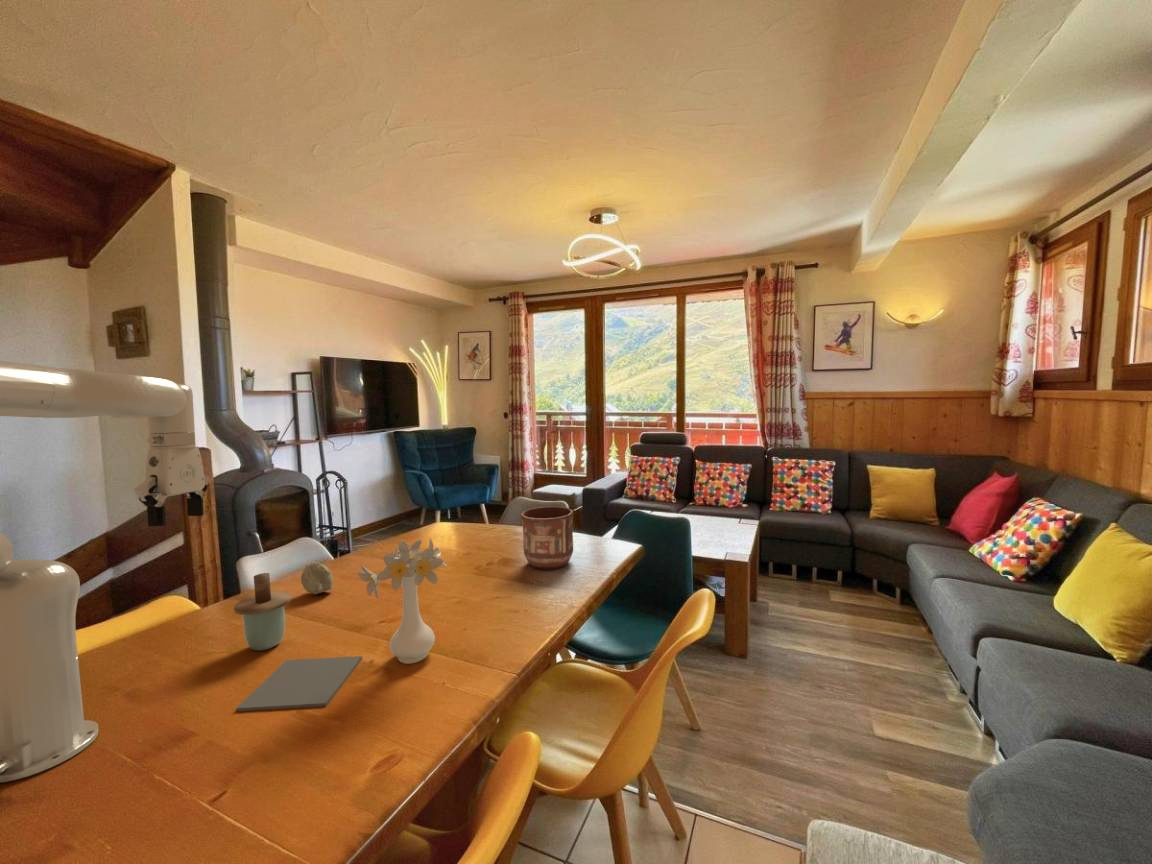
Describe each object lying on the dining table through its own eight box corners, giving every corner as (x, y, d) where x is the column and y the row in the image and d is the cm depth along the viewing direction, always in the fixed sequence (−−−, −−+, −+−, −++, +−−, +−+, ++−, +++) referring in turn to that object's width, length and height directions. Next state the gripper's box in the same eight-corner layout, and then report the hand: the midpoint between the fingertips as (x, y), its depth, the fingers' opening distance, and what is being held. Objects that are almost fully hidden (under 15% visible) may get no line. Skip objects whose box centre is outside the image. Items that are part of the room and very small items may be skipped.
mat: (326, 706, 85) (326, 702, 85) (236, 711, 85) (235, 708, 85) (362, 658, 101) (361, 656, 101) (286, 662, 101) (286, 660, 100)
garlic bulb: (332, 597, 135) (330, 563, 134) (298, 603, 132) (296, 568, 131) (336, 586, 144) (334, 554, 143) (304, 591, 141) (302, 558, 140)
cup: (266, 656, 103) (263, 612, 103) (237, 653, 105) (233, 610, 104) (294, 639, 111) (291, 598, 111) (266, 636, 113) (263, 596, 112)
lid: (274, 613, 102) (271, 583, 102) (222, 616, 102) (219, 585, 101) (300, 593, 113) (299, 565, 113) (254, 595, 113) (252, 568, 112)
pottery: (518, 559, 164) (516, 508, 163) (566, 553, 169) (564, 504, 168) (528, 577, 147) (526, 521, 146) (581, 569, 152) (579, 515, 151)
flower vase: (354, 672, 96) (347, 553, 95) (424, 633, 112) (419, 530, 111) (396, 690, 90) (389, 562, 88) (464, 646, 105) (459, 537, 104)
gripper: (153, 443, 91) (159, 529, 92) (220, 439, 109) (224, 511, 109) (115, 444, 91) (121, 530, 92) (188, 439, 109) (192, 512, 109)
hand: (177, 520), depth 101 cm, fingers open, 9 cm apart
